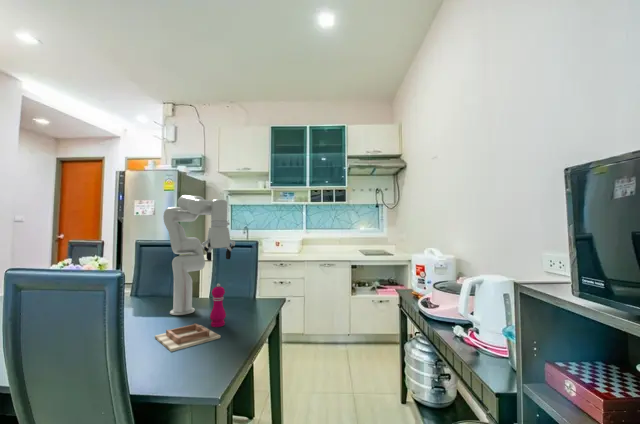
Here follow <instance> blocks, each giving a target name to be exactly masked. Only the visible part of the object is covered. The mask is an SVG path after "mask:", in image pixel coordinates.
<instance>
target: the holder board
mask: <svg viewBox="0 0 640 424" xmlns="http://www.w3.org/2000/svg"><path fill="white" fill-rule="evenodd" d="M154 339H155V340H156V341H158V342H159V343H160V344H161V345H162V346H164V347H165V348H166V350H168V351H169V352H174V351H175V352H176V351H178V350H182V349H186V348H190V347H193V346H196V345H201V344H204V343H208V342H211V341H215V340H219V339H221V335H220V334H218V333H216V332H215V331H213V330H211V329H210V328H208V327H206V326H204V325H202V324H199V323H193V324H190V325H183V326H179V327H175V328H172V329H166V330H165V333H160V334H155V335H154Z"/></svg>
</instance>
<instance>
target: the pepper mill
mask: <svg viewBox="0 0 640 424" xmlns="http://www.w3.org/2000/svg"><path fill="white" fill-rule="evenodd" d="M225 293H226V291H225V288H224V287H223V286H221V283H217V284H216V286H215V287H214V288H213V289H212V291H211V295H212V301H213V306H212V309H211V311H210V315H209V316H210V317H209V318H210V321H211V322H210V327H211V328H221V327H223V326H225V325H226V321H225V319H226V316H227V312H226V310H225V308H224V303H223V302H224V301H223V300H225V298H224V295H225Z"/></svg>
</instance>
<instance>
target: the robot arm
mask: <svg viewBox="0 0 640 424" xmlns="http://www.w3.org/2000/svg"><path fill="white" fill-rule="evenodd" d="M202 215H203V216H210V223H211V224H210V227H209V228H208V232H207V233H208V234H207V238H206V240H205V241H203V242H201V240H200V239H199V238H198V237H193V236H192V237H191V236H190V237H189V236H187V234H186V231H185V228H184V227H183V226H182V225H181V224H180V223H181V222H182V223H184V222H186V223H187V222H188V223H191V222H195V221H196V220H197V219H198V218H199V216H202ZM163 222H164V223H163V224H164V226H165V228H166V229H167V232H168V235H169V237H168V238H169V242H170V247H171V250H172V252H173V254H175V255H178V256H175V257H174V258H173V259H172V261H171V266H172V273H173V275H172V276H173V300H172V301H173V303H172V304H173V306H172V309H171V310H170V311H169V314H170V315H172V316H184V315H190V314H192V313H194V312H195V311H196V310H195V308H194V307H193V304H192V303H193V278H192V276H191V275H190V274H189V273H190V272H196V271H201V270H203V269H204V268H205V265H206V261H208V262H210V261H212V256H213V255H212V252H211V251H212V250H213V249H226V251H225V259H226V260H231V257H232V256H231V255H232V251H233V249H234V248H235V246H236V241H235V240H232V239H231V236H230V235H231V234H230V229H229V227H228V226H230V222H228V201H227V200H226V199H213V200H211V199H204V197H203V196H200V195H189V194H183V195H181V196H180V197H179V198H178V199H177V206H171V207H170V206H169V207H168V208H166V209H165V210H164V211H163ZM179 222H180V223H179ZM204 251H205V253H206V258H205V254H204Z"/></svg>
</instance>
